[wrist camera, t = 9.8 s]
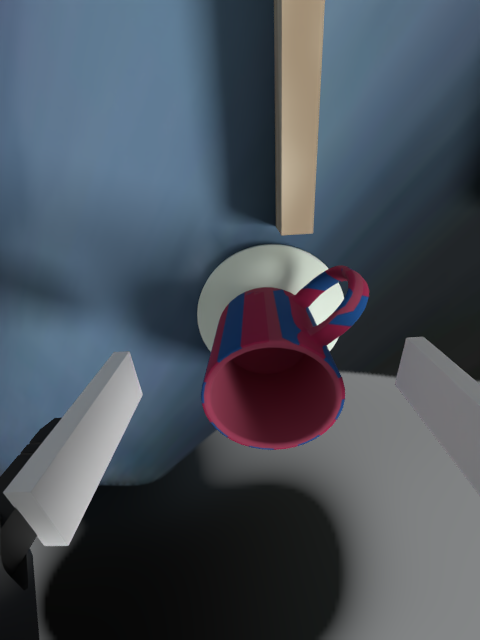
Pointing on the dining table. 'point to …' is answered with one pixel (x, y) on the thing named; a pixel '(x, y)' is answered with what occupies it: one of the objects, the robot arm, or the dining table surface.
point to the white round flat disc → (263, 283)
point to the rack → (297, 110)
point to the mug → (279, 363)
